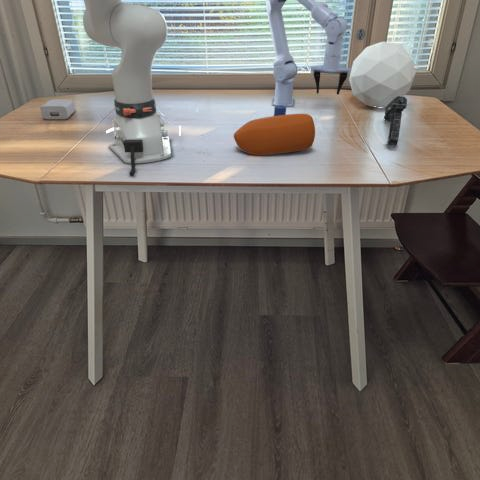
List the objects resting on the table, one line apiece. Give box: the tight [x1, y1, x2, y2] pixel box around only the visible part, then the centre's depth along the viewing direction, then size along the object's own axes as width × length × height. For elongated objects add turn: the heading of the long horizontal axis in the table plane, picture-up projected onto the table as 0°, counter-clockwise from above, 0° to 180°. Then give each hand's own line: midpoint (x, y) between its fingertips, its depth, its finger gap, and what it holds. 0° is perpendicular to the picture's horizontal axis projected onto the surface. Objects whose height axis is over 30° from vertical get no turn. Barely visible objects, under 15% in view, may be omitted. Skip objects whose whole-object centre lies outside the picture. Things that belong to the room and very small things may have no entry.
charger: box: [39, 98, 76, 120], centre depth 153 cm, size 5×9×15 cm
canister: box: [273, 105, 287, 116], centre depth 150 cm, size 4×4×5 cm
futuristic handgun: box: [383, 96, 408, 147], centre depth 138 cm, size 4×29×15 cm, turn 164°
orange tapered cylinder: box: [233, 113, 316, 156], centre depth 124 cm, size 12×11×25 cm
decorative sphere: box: [348, 41, 417, 110], centre depth 160 cm, size 24×25×25 cm
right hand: (327, 93), depth 156 cm, fingers open, 7 cm apart
